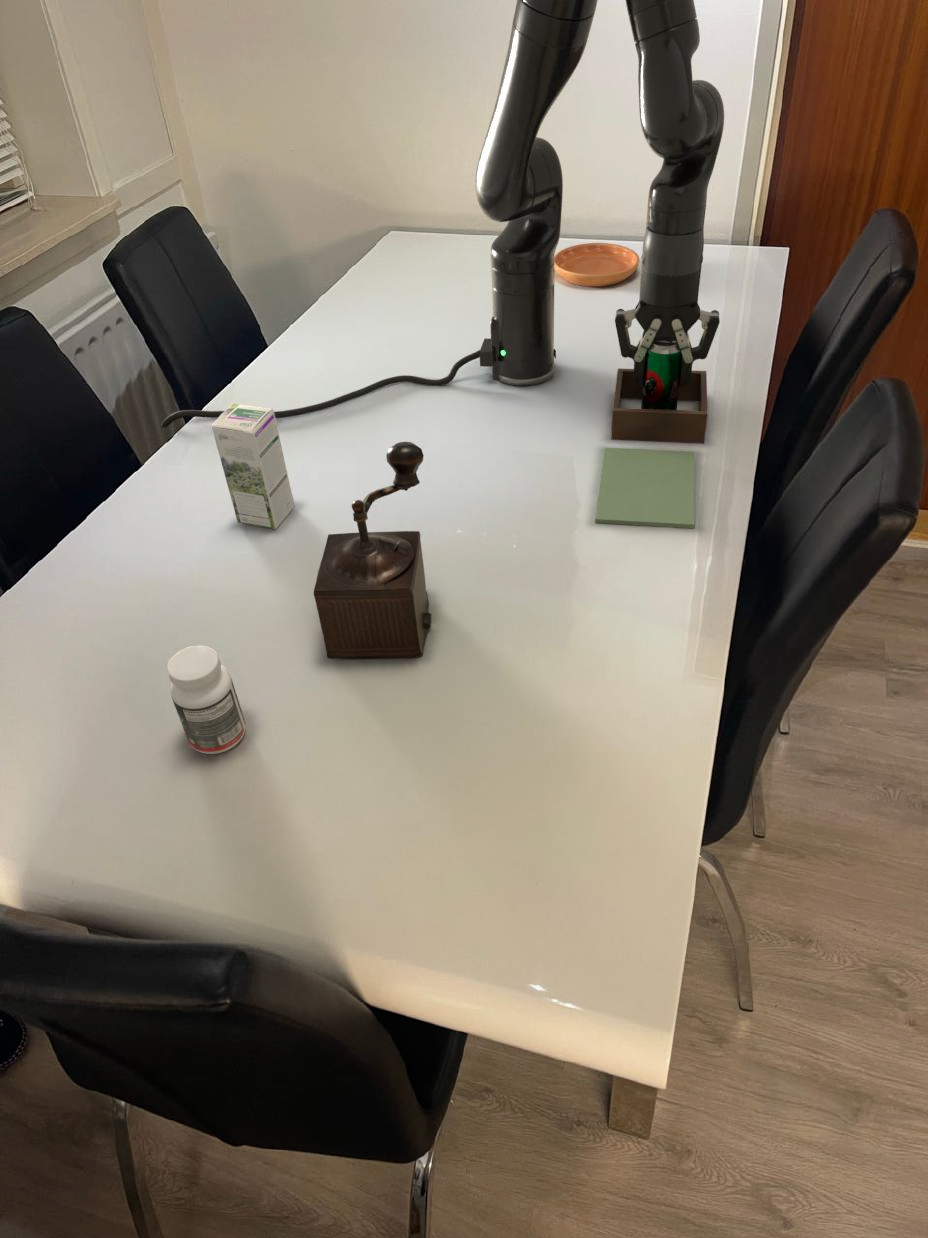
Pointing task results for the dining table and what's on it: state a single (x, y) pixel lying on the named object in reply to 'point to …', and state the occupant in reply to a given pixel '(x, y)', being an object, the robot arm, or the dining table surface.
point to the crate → (659, 413)
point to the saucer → (596, 263)
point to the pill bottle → (205, 700)
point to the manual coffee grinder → (375, 580)
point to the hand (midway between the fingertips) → (661, 383)
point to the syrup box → (254, 465)
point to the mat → (647, 488)
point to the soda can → (662, 376)
